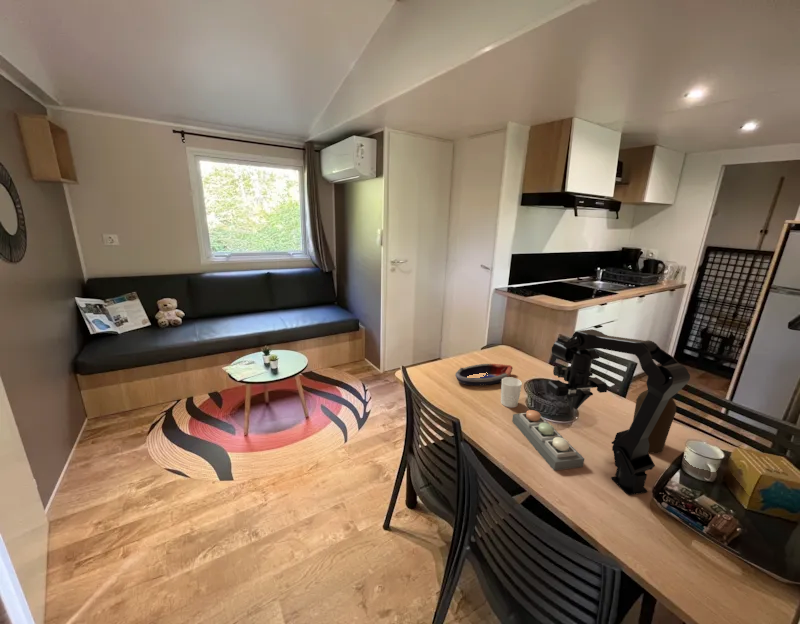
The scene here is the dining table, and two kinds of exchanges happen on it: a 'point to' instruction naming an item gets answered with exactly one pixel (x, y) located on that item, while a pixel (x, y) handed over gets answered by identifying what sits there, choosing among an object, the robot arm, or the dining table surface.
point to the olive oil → (658, 424)
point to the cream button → (560, 444)
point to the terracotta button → (533, 415)
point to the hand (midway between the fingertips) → (573, 408)
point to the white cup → (510, 391)
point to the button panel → (547, 444)
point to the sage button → (546, 429)
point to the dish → (494, 375)
